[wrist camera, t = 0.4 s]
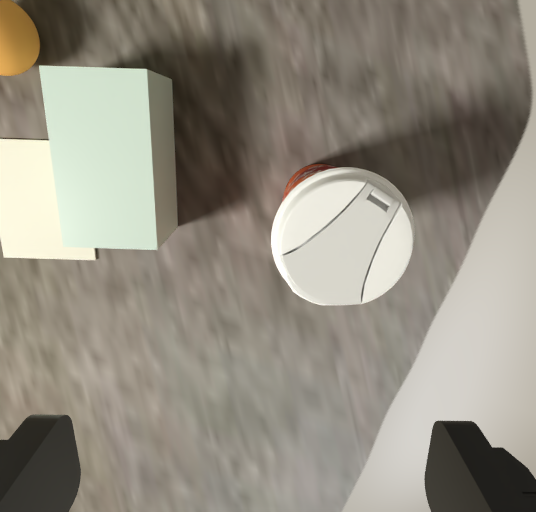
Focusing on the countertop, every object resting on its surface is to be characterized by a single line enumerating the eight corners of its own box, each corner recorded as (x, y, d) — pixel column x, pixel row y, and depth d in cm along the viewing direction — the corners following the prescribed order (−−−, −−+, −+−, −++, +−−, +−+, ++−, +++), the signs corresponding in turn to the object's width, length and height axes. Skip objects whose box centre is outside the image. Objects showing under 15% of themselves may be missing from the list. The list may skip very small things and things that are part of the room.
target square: (-17, 138, 33) (-18, 138, 33) (83, 141, 33) (82, 141, 33) (5, 256, 36) (4, 257, 36) (96, 259, 36) (95, 260, 36)
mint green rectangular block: (85, 76, 31) (39, 65, 25) (171, 79, 31) (146, 68, 25) (100, 224, 35) (63, 246, 29) (177, 226, 35) (157, 249, 29)
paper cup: (304, 131, 32) (327, 138, 19) (382, 183, 34) (455, 224, 20) (253, 213, 34) (241, 271, 21) (328, 259, 36) (361, 341, 22)
